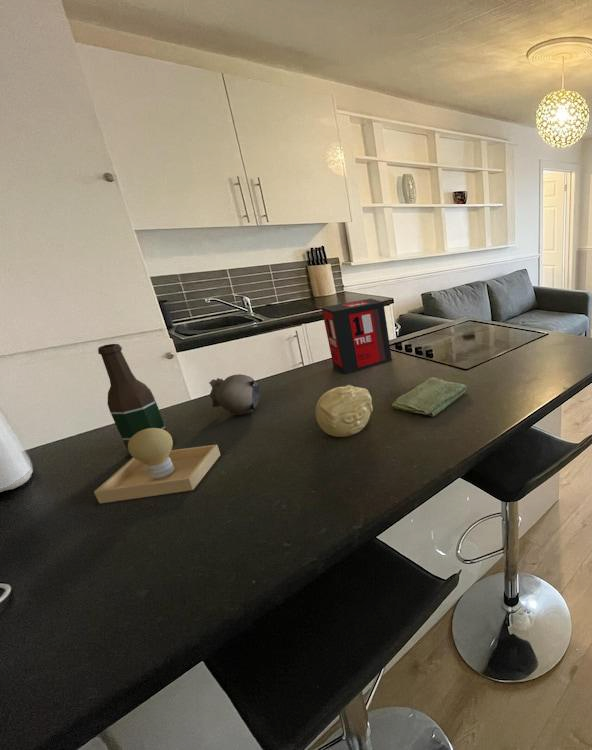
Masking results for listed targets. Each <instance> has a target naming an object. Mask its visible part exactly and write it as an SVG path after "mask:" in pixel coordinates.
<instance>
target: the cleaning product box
mask: <svg viewBox="0 0 592 750" xmlns="http://www.w3.org/2000/svg"><path fill="white" fill-rule="evenodd" d="M321 313H322V315H323V316H322V317H323V322H324V327H325V332H326V337H327V342H328V347H329V351H330V356H331V360H332V365H333V368H334V369H336V370H338V371H339V372H340V373H342V374H344V375H347V374H350V373H353V372H356V371H357V372H358V371H360V370H363V369H367V368H371V367H374V366H378V365H381V364H384V363H388V362H391V361H393V359H392V352H391V344H390V337H389V332H388V331H389V330H388V324H387V318H386V311H385V304H384V301H381V300H378V299H375V298H366V299H360V300H356V301H355V300H354V301H349V302H344V303H338V304H332V305H327V306H321Z"/></svg>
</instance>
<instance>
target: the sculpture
mask: <svg viewBox="0 0 592 750" xmlns="http://www.w3.org/2000/svg"><path fill="white" fill-rule="evenodd" d="M372 401H373V400H372V396H371V395H370V391H369V390H368V389H367V388H364V387H358V386H353V385H352V384H346V385H345V386H337V387H334V388H332V389H329V390H327V391H326V392H324V393H323V394H322V395H320V397H319V399H318V401H317V403H316V406H315V418H316V421H317V424H318V426H319V427H320V429H321V430H322V431H323V433H325V434H327V435H329V436H332V437H336V438H346V437H351V436H353V435H355V434H358V433H359V432H361V431H362V430H364V429H365V427H366V426H367V424H368V422H369V421H370V417H371V414H372V412H373V410H374V409H373V404H372V403H373V402H372Z"/></svg>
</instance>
